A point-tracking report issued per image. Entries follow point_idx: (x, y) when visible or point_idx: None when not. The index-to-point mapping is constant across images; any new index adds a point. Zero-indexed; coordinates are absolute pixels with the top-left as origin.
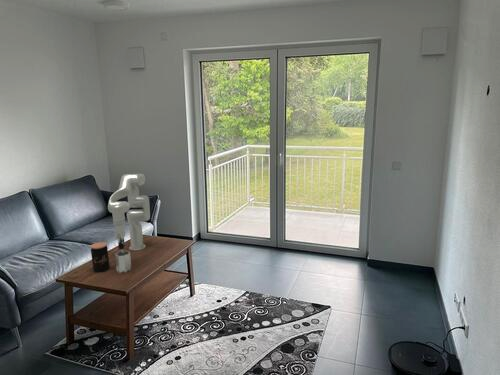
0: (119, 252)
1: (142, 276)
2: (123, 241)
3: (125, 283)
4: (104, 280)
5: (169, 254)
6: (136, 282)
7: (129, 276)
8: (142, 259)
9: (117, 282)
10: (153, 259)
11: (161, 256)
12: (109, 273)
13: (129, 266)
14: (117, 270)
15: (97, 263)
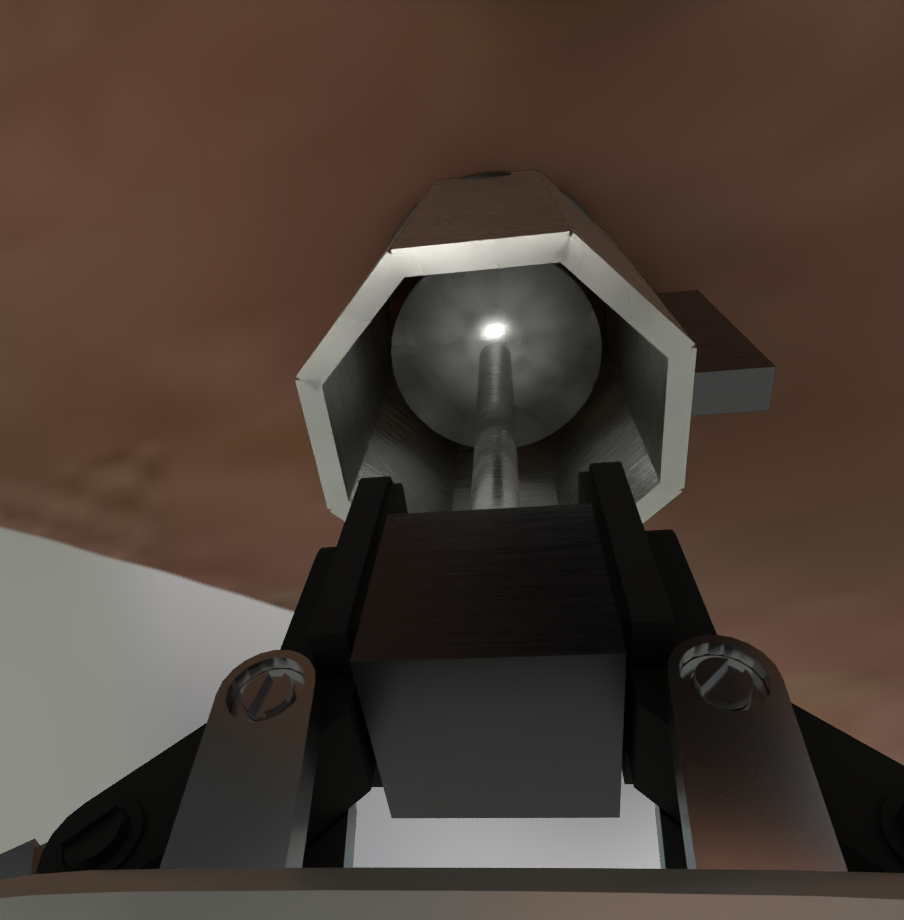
0: (622, 317)
1: (268, 576)
2: (538, 808)
3: (53, 433)
4: (62, 61)
5: (887, 745)
6: (108, 545)
7: (256, 434)
8: (853, 484)
9: (51, 320)
10: (788, 614)
11: (859, 681)
12: (351, 53)
13: None
14: (416, 206)
15: None
